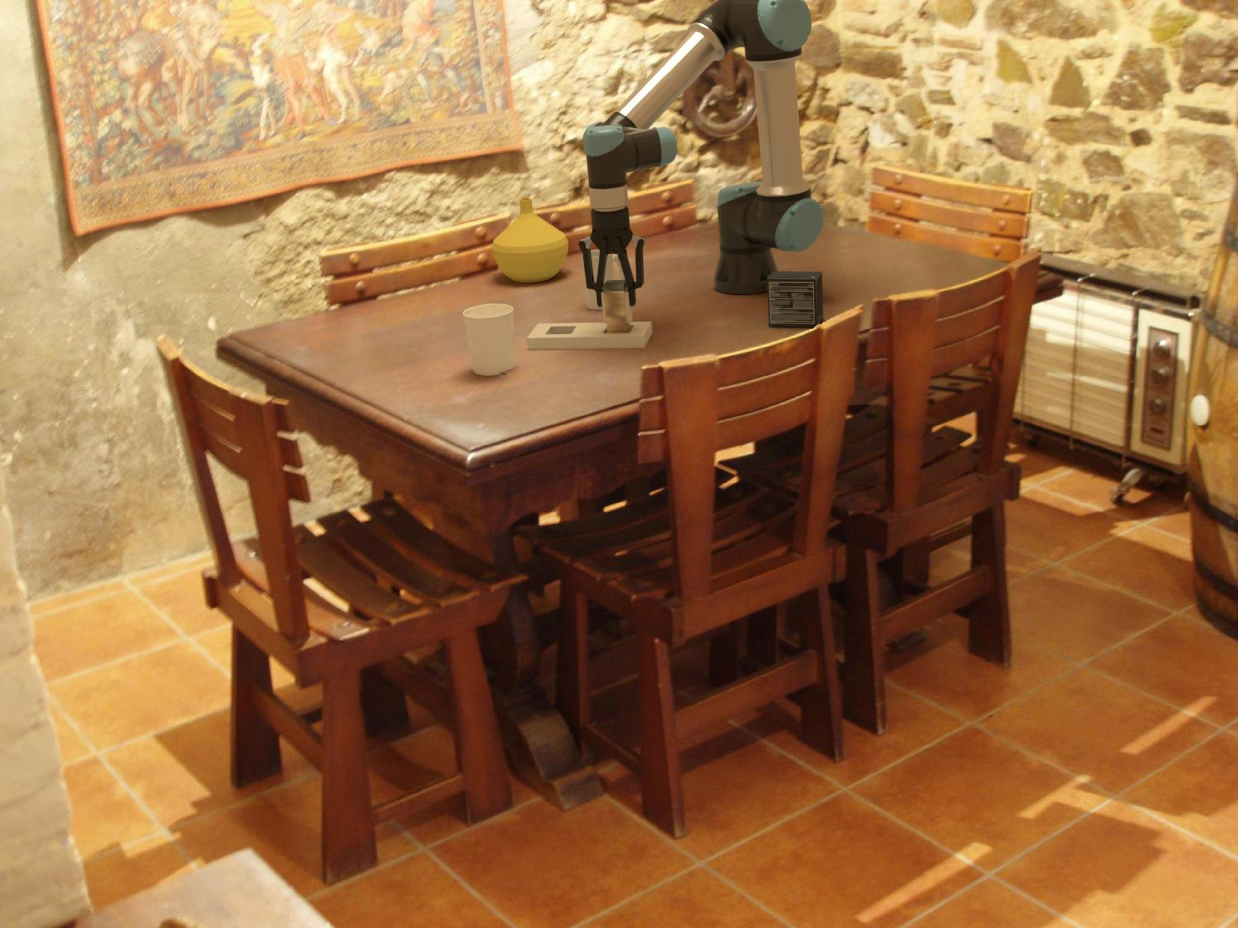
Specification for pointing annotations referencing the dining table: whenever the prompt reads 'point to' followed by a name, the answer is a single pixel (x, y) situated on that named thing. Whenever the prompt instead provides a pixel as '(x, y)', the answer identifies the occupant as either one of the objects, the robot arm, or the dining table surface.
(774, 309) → the small box
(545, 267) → the vase
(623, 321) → the plug
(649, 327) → the panel
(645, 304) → the dining table surface
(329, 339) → the dining table surface
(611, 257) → the mug
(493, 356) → the beige cup
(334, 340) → the dining table surface
